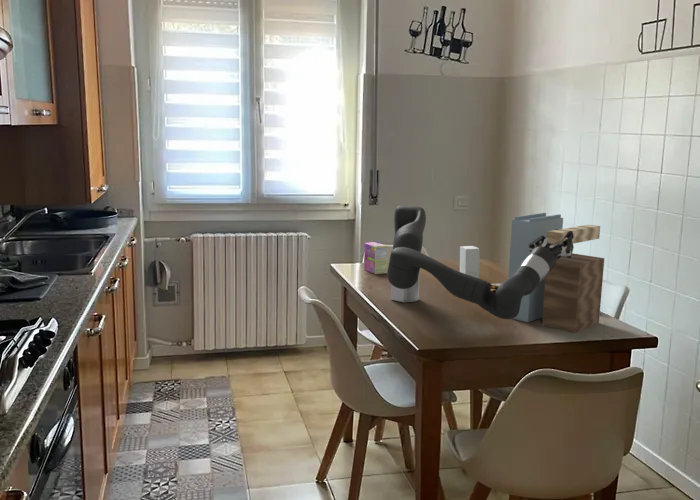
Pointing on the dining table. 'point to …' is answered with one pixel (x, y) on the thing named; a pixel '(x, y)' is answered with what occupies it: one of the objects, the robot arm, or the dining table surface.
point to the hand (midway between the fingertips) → (564, 232)
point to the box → (375, 258)
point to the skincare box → (469, 260)
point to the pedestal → (521, 237)
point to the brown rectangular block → (575, 234)
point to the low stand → (573, 293)
